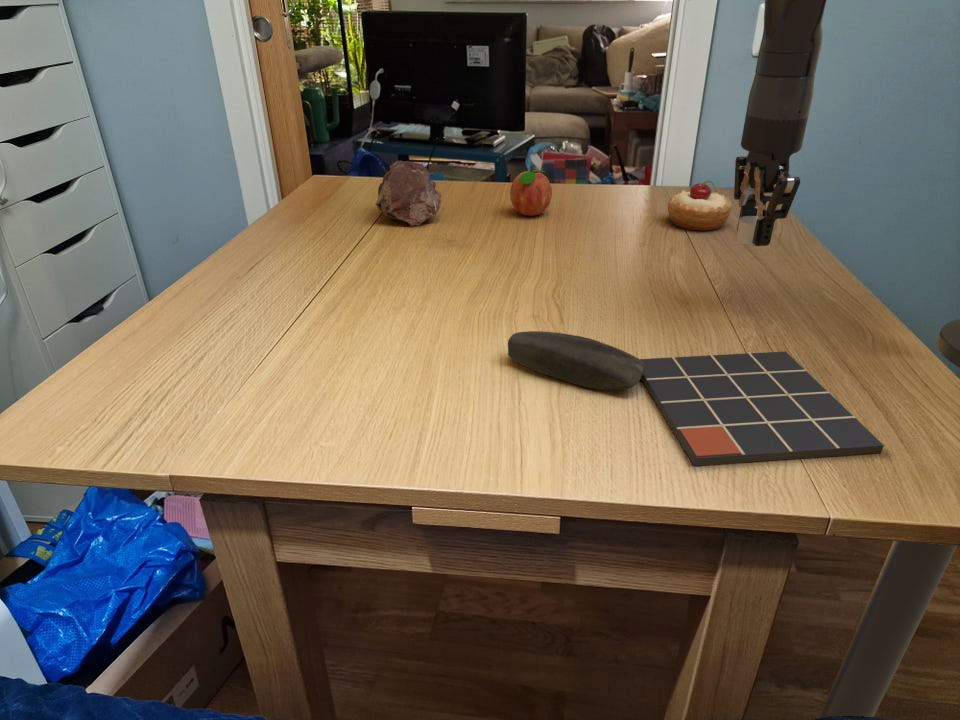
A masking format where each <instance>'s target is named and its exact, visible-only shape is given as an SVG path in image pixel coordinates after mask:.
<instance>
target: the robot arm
mask: <svg viewBox="0 0 960 720" xmlns="http://www.w3.org/2000/svg"><path fill="white" fill-rule="evenodd" d="M826 4H827V0H764V9H763V10H764V12H763V31H762V36H761V40H760V45H759V48H758V49H759V50H758V53H757V54H758V55H757V61H756V67H755V72H754V73H755V74H754V77H753V80H752V84H751V87H750V89H749V94H748V99H747V106H746V112H745V118H744V123H743V129H742V134H741V141H740V147H741V148H742V149H743V150H744V151H746V152H748V153H747V155H743V156H736V158H735V164H734V165H735V166H734V185H733V188H734V189H733V198H734V200H736V201H737V200H738V207H739V208H740V210H739V216H738V221H737V225H738V224H739V219H740V218H741V217H744V216H758V219H757V221H756V227H755V232H754V237H753V244H754V245H756V246H755V247H767V246H769V245H770V243H771V240H772V236H773V231H774V227H775V222H776V220H781V219H782V220H783V219H786V218H787V217H788V214H789V212H790V209H791V207H792V204H793V202H794V199H795V197H796V195H797V192H798V189H799V187H800V185H801V178H800V177H799V176H792V175H790V173H789V172H790V157H791V156H792V155H794V154H796V153H799V152H800V151H801V150H802V147H803V143H804V138H805V134H806V129H807V125H808V119H809V115H810V111H811V106H812V102H813V96H814V88H815V77H816V72H817V68H818V63H819V58H820V54H821V49H822V44H823V37H824V36H823V34H824V31H823V26H822V22H823V17H824V13H825V8H826ZM765 194H771V195H765ZM767 203H768V204H767ZM737 230H738V226H737V227H736V231H737Z"/></svg>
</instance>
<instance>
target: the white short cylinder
mask: <svg viewBox="0 0 960 720" xmlns="http://www.w3.org/2000/svg"><path fill="white" fill-rule="evenodd" d="M757 219H758V215H757V216H744V217H741V218H740V219H739V218H738V221H739V224H738V223H737V227H738V230H737V229H736V236H735V241H736V242H737V243H739V244H741V245H744V246H749V247H757V246H756V245H754V244H753V237H754V232H755V227H756V221H757Z"/></svg>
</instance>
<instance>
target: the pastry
mask: <svg viewBox="0 0 960 720" xmlns="http://www.w3.org/2000/svg"><path fill="white" fill-rule="evenodd" d="M706 183H710V184H712V188H713V190H714V192H712V188H711V187H710V186H709V185H708V184H706ZM732 208H733V203H732V201H731V199H730V198H729V197H728V196H725V195H724V194H722V193H721V194H719V193H718V192H717V189H716V184H715V182H714V181H713V180H706V181H704V182H703V183H701V182H699V183H695V184H692V186H690V189H689V190H688V191H686V190H684V189H683V190H681V192H676V193H674V194H672V195H671V196H670V197H669V198H668V202H667V213H668V216H669V218H670V220H671V222H672V223H673V224H674V225H675V226H677V227H679V228H683V229H686V230H692V231H702V232H703V231H712V230H717V229H720V228H721V227H722V226H723V225H724V224H725V223H726V222H727V220H728V219H729V217H730V215H731V212H732Z"/></svg>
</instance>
